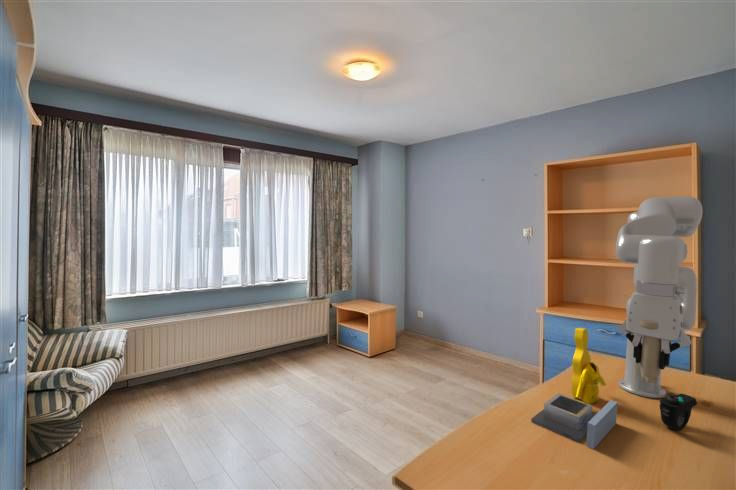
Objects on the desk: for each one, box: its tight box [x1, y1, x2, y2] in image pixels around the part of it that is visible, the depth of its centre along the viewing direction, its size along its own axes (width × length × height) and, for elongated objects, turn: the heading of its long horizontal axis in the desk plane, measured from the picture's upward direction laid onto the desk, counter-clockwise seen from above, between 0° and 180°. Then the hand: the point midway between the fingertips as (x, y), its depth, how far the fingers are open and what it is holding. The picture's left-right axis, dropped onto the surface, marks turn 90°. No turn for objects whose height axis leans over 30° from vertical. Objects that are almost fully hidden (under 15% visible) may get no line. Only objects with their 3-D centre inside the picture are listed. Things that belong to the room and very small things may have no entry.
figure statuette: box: [571, 327, 607, 405], centre depth 113 cm, size 18×8×22 cm, turn 123°
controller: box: [659, 392, 698, 431], centre depth 98 cm, size 4×12×10 cm, turn 115°
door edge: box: [585, 399, 618, 450], centre depth 94 cm, size 18×2×6 cm, turn 131°
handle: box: [640, 320, 661, 384], centre depth 86 cm, size 5×6×15 cm
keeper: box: [530, 393, 598, 443], centre depth 100 cm, size 18×12×4 cm, turn 131°
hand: (650, 363), depth 86 cm, fingers closed on handle, 4 cm apart
